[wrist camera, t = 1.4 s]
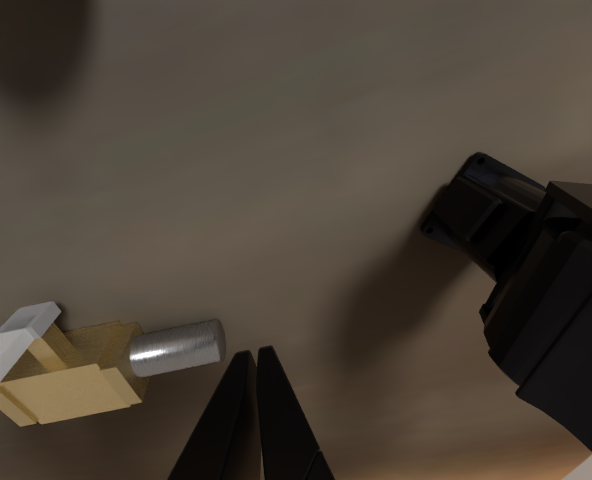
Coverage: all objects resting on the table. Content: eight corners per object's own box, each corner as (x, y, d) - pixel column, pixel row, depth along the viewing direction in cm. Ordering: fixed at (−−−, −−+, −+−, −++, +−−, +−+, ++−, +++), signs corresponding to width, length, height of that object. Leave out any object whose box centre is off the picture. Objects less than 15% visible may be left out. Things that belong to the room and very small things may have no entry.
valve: (201, 277, 23) (191, 317, 20) (230, 345, 27) (226, 389, 24) (-85, 335, 23) (-149, 386, 20) (-15, 395, 27) (-57, 446, 24)
